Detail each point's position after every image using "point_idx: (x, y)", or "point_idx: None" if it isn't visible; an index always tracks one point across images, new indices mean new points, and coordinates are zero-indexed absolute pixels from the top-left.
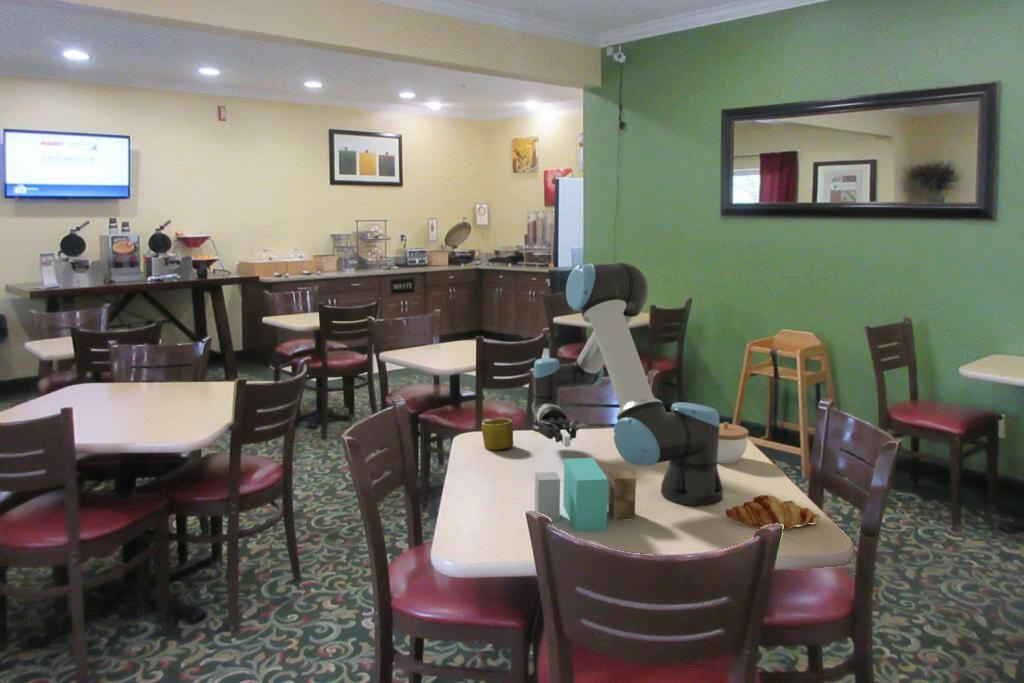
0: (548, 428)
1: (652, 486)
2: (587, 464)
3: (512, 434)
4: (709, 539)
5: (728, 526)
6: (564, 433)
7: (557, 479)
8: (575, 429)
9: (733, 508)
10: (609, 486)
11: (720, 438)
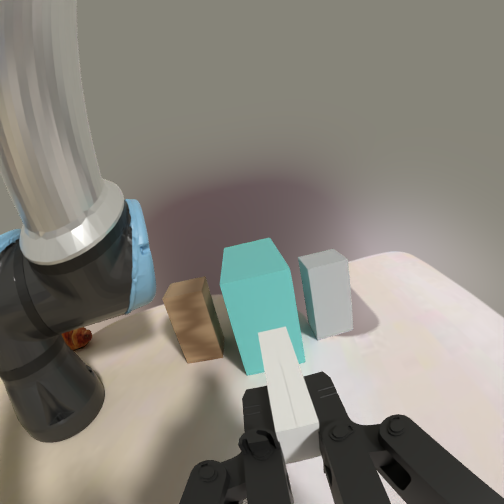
0: (419, 445)
1: (86, 449)
2: (241, 265)
3: None
4: (139, 319)
5: (101, 339)
6: (286, 362)
7: (302, 256)
8: (196, 467)
9: (81, 331)
10: (209, 314)
11: None
